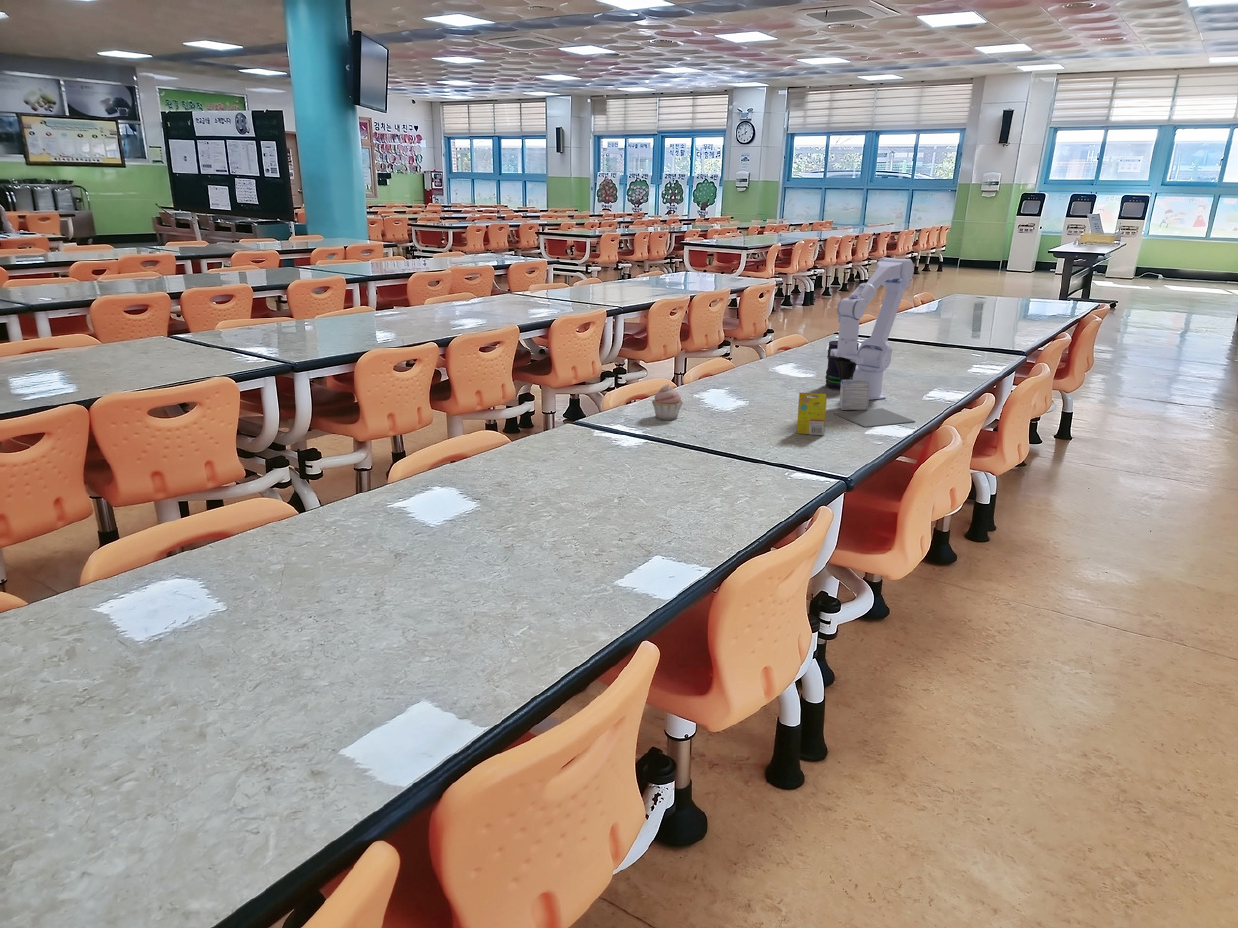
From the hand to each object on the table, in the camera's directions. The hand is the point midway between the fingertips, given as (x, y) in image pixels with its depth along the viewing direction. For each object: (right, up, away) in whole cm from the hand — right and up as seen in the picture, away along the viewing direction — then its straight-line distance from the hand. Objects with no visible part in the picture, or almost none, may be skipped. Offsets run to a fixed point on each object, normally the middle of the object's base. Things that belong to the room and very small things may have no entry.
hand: (844, 382), depth 255 cm
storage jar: (+5, +1, +25) cm, 26 cm away
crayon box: (-17, -17, -27) cm, 36 cm away
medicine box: (+2, -8, -3) cm, 9 cm away
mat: (+5, -11, -12) cm, 18 cm away
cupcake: (-55, -11, -12) cm, 58 cm away
